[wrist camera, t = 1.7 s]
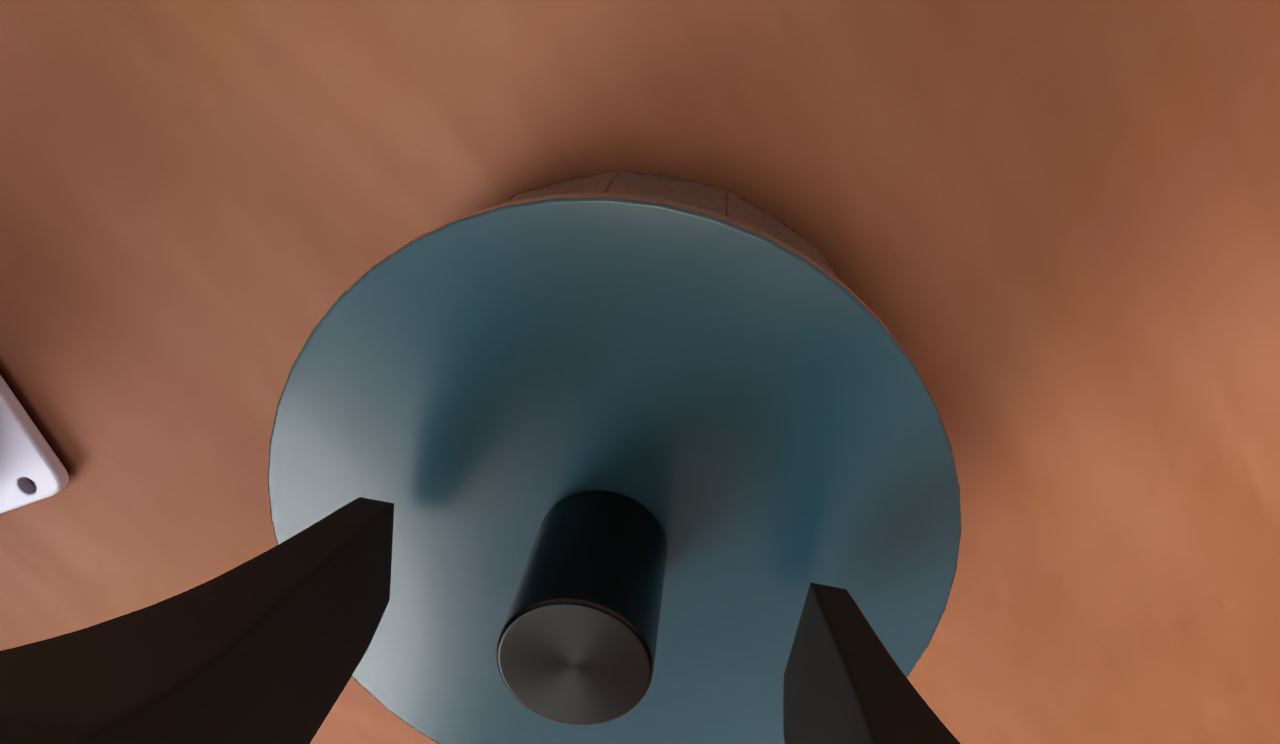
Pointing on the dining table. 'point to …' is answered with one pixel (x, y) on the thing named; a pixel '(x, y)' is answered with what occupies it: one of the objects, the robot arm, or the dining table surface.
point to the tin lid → (615, 470)
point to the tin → (683, 202)
